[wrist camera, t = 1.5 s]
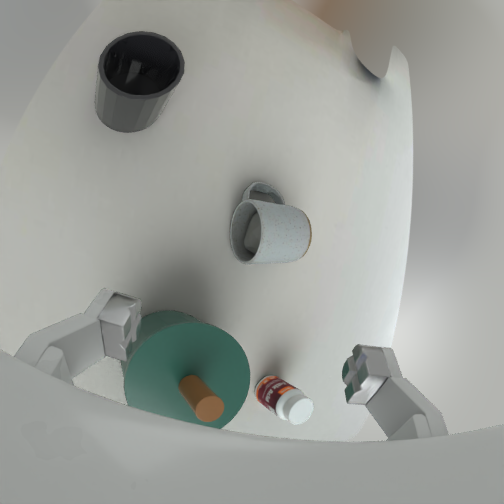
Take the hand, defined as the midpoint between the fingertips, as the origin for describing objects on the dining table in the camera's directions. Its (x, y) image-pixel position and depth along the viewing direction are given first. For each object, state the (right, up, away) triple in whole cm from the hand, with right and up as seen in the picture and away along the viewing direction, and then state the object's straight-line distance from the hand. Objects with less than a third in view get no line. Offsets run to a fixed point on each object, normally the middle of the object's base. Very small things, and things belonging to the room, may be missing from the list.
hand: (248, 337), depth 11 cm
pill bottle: (+2, -17, +32) cm, 36 cm away
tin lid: (-6, -10, +17) cm, 21 cm away
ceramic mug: (0, +7, +30) cm, 31 cm away
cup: (-15, +22, +22) cm, 34 cm away
